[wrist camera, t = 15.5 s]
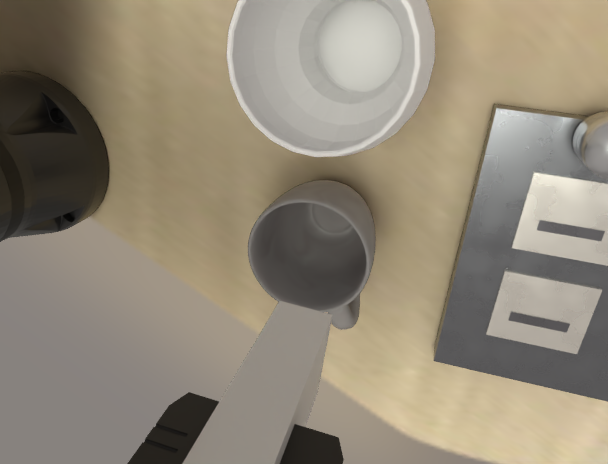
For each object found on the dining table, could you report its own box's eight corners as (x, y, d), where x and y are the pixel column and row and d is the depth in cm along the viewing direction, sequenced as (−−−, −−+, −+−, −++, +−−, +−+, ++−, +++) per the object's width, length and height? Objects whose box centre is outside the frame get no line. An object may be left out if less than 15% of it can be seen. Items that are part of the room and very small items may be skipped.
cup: (447, 101, 37) (448, 149, 24) (312, 128, 40) (247, 182, 27) (427, -56, 34) (414, -105, 20) (281, -13, 37) (188, -30, 24)
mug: (270, 177, 43) (227, 217, 35) (367, 147, 40) (345, 183, 31) (317, 296, 47) (288, 359, 38) (409, 277, 43) (400, 341, 35)
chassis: (434, 347, 45) (433, 363, 43) (494, 103, 36) (497, 109, 34) (637, 393, 42) (647, 413, 40) (760, 138, 33) (781, 146, 31)
